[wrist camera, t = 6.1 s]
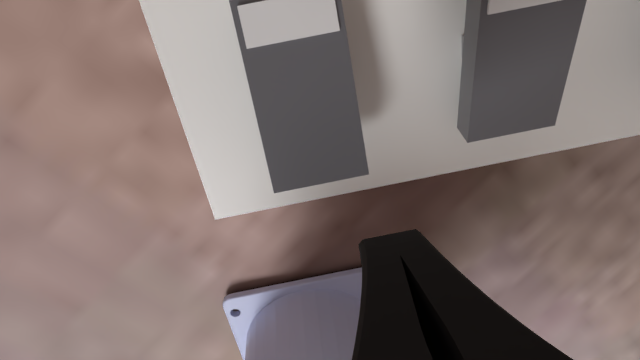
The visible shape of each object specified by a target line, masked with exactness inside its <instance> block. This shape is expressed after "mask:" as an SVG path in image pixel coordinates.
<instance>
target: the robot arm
mask: <svg viewBox="0 0 640 360" xmlns="http://www.w3.org/2000/svg"><path fill="white" fill-rule="evenodd" d="M359 250H360V257H361V263H362V267H361V268H356V269H351V270H346V271H341V272H336V273H331V274H326V275H321V276H316V277H311V278H306V279H301V280H296V281H291V282H286V283H281V284H276V285H271V286H266V287H261V288H256V289H252V290H247V291H242V292H237V293H232V294H228V295H227V296H225V297H224V300H223V308H224V311H225V314H226V316H227V319H228V321H229V324H230V327H231V329H232V332H233V334H234V337H235V340H236V342H237V345H238V348H239V350H240V353H241V355H242V358H243V360H573V359H572V358H570V357H568V356H567V355H566V354H564V353H563V352H561V351H560V350H558V349H557V348H555V347H554V346H552V345H551V344H549V343H548V342H547V341H545V340H544V339H542V338H541V337H540V336H538V335H537V334H535V333H534V332H533V331H531V330H530V329H529V328H527V327H526V326H525V325H523V324H522V323H521V322H519V321H518V320H517V319H515V318H514V317H513V316H512V315H510V314H509V313H508V312H507V311H505V310H504V309H503V308H501V307H500V306H499V305H498V304H496V303H495V302H494V301H493V300H492V299H490V298H489V297H488V296H487V295H486V294H484V293H483V292H482V291H481V290H480V289H479V288H478V287H476V286H475V285H474V284H473V283H472V282H471V281H470V280H468V279H467V278H466V277H465V276H464V275H463V274H462V273H461V272H460V271H458V270H457V269H456V268H455V267H454V266H453V265H452V264H451V263H450V262H449V261H448V260H447V259H446V258H445V257H444V256H443V255H442V254H441V253H440V252H439V251H438V250H437V249H436V248H435V247H434V246H433V245H432V244H431V243H430V242H429V241H428V240H427V239H426V238H425V237H424V236H423V235H422V234H421V233H420V232H419V231H417V230H416V229H415V230H409V231H404V232H399V233H394V234H389V235H384V236H379V237H373V238H368V239H363V240H362V241H361V242H360V243H359ZM233 309H238V310H239V311H233Z"/></svg>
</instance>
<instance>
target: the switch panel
mask: <svg viewBox="0 0 640 360" xmlns="http://www.w3.org/2000/svg"><path fill="white" fill-rule="evenodd" d="M341 1H342V7H343V13H344V19H345V26H346V32H347V38H348V45H349V51H350V57H351V63H352V70H353V76H354V82H355V89H356V95H357V101H358V107H359V114H360V120H361V126H362V133H363V139H364V145H365V151H366V158H367V164H368V170H369V175H364V176H359V177H354V178H349V179H344V180H339V181H334V182H329V183H324V184H319V185H314V186H309V187H304V188H299V189H294V190H289V191H284V192H279V193H274V191H273V187H272V183H271V178H270V174H269V170H268V166H267V161H266V157H265V153H264V148H263V144H262V140H261V136H260V131H259V127H258V123H257V118H256V114H255V110H254V106H253V101H252V97H251V93H250V88H249V84H248V80H247V76H246V71H245V67H244V63H243V59H242V54H241V50H240V46H239V41H238V37H237V33H236V29H235V24H234V20H233V16H232V11H231V7H230V3H229V0H139V2H140V5H141V8H142V11H143V13H144V16H145V19H146V22H147V25H148V28H149V31H150V34H151V36H152V39H153V42H154V45H155V48H156V51H157V54H158V57H159V59H160V62H161V65H162V68H163V71H164V74H165V77H166V80H167V82H168V85H169V88H170V91H171V94H172V97H173V100H174V103H175V105H176V108H177V111H178V114H179V117H180V120H181V123H182V126H183V128H184V131H185V134H186V137H187V140H188V143H189V146H190V149H191V151H192V154H193V157H194V160H195V163H196V166H197V169H198V172H199V174H200V177H201V180H202V183H203V186H204V189H205V192H206V195H207V197H208V200H209V203H210V206H211V209H212V212H213V215H214V218H215V220H216V219H221V218H226V217H231V216H236V215H241V214H246V213H251V212H256V211H261V210H266V209H271V208H276V207H281V206H286V205H291V204H296V203H301V202H306V201H311V200H316V199H321V198H326V197H331V196H336V195H341V194H346V193H351V192H356V191H361V190H366V189H371V188H376V187H381V186H386V185H391V184H396V183H401V182H406V181H411V180H416V179H421V178H426V177H431V176H436V175H441V174H446V173H451V172H456V171H461V170H466V169H471V168H476V167H481V166H486V165H491V164H496V163H501V162H506V161H511V160H516V159H521V158H526V157H531V156H536V155H541V154H546V153H551V152H557V151H562V150H567V149H572V148H577V147H582V146H587V145H592V144H597V143H602V142H607V141H612V140H617V139H622V138H627V137H632V136H637V135H640V0H587V1H586V5H585V9H584V13H583V17H582V21H581V25H580V29H579V33H578V37H577V41H576V45H575V49H574V52H573V56H572V60H571V64H570V68H569V72H568V76H567V80H566V84H565V88H564V92H563V96H562V100H561V104H560V108H559V111H558V115H557V119H556V123H555V126H550V127H545V128H540V129H535V130H530V131H525V132H520V133H515V134H510V135H505V136H500V137H495V138H490V139H484V140H479V141H474V142H469V143H467V142H466V140H465V139H464V137H463V136H462V134H461V133H460V131H459V130H458V128H457V120H458V107H459V94H460V81H461V68H462V55H463V42H464V28H465V15H466V2H467V0H341Z"/></svg>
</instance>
